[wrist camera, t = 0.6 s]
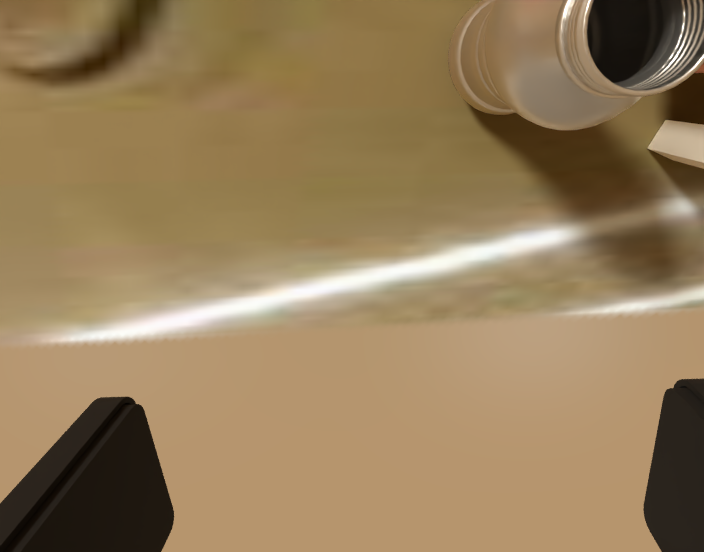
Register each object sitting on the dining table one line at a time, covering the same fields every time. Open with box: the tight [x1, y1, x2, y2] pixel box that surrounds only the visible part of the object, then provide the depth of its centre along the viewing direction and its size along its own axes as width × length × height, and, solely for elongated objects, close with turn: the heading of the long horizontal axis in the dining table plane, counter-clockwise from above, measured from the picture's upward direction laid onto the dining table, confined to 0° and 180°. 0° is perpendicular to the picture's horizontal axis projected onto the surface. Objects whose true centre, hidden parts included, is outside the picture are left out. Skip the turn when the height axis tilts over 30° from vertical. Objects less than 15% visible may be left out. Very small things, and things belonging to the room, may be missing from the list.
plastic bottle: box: [448, 0, 704, 130], centre depth 22 cm, size 6×7×20 cm
